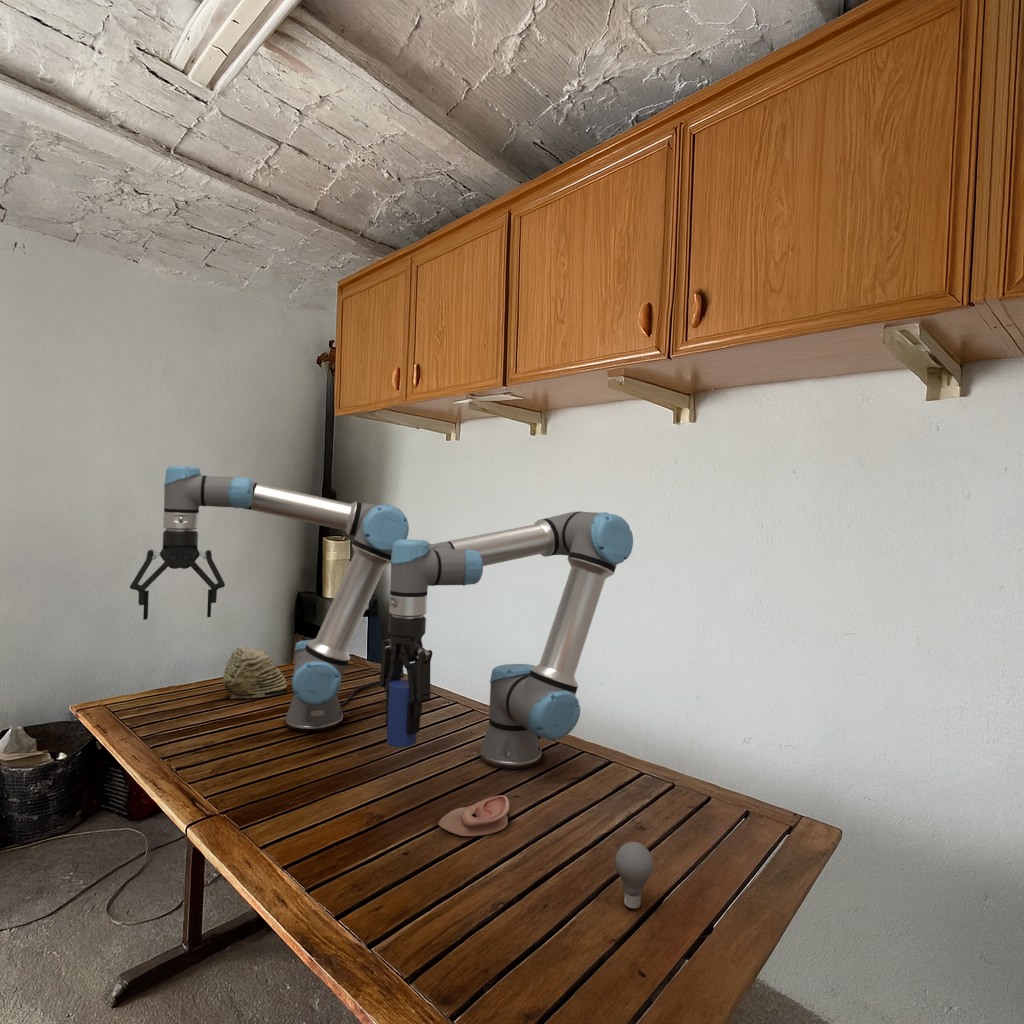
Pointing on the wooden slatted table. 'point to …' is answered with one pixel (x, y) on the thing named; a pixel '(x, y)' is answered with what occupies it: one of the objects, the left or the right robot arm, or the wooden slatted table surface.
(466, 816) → the anatomical model
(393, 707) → the canister
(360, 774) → the wooden slatted table surface
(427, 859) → the wooden slatted table surface
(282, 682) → the fossil
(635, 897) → the light bulb
